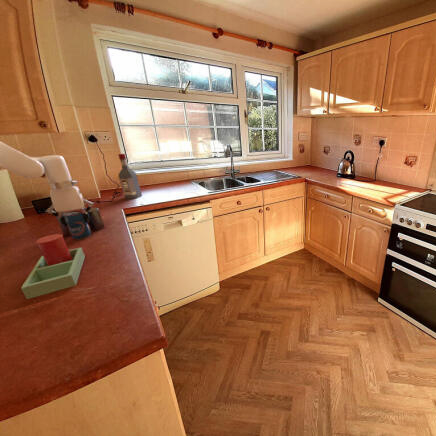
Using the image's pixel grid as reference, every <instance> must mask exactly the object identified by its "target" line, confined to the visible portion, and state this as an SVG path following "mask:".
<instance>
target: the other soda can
mask: <svg viewBox="0 0 436 436" xmlns="http://www.w3.org/2000/svg"><path fill="white" fill-rule="evenodd" d="M35 242H36V244H37V246H38V248H39V251H40V252H41V254H42V256H43V257H44V259H45V261H46V263H47V265H48V266H51V265H55V264H59V263H63V262H67V261H72V260H73V259H72V257H71V254H70V252H69V250H70V249H69V247H68V245H67V243H66V240H65V239H64V235H63V234H62V233H55V234H50V235H45V236H43V237H40V238H38V239H37V240H36V241H35Z"/></svg>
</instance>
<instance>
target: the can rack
mask: <svg viewBox="0 0 436 436" xmlns="http://www.w3.org/2000/svg"><path fill="white" fill-rule="evenodd" d="M68 250H69V252H70V254H71V257H72V259H73V260H72V261H67V262H63V263H59V264H55V265H51V266H48V265H47V263H46V261H45V259H44V257H43V255H41V256H40V258H39V260H38V261H37V263H36V264H35V265H34V267H33V268H32V270H31V272H30V273H29V275H28V277H27V278H26V280H25V281H24V283H22V286H21V287H20V289H21V292H23V294H24V296H25V298H26V300H29V299H33V298H37V297H40V296H44V295H48V294H50V293H53V292H58V291H61V290H65V289H68V288H72V287H76V286H77V283H78V280H79V277H80V274H81V270H82V267H83V264H84V261H85V258H86V255H85V253H84V249H83V247H76V248H72V249H68Z"/></svg>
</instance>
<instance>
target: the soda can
mask: <svg viewBox="0 0 436 436" xmlns="http://www.w3.org/2000/svg"><path fill="white" fill-rule="evenodd" d="M68 212H69V213H66V214H65V221H66V224H67V226H68V229H69V231H70V233H71V236H70V237H71V238H72V239H74V240H75V241H76V240H77V241H80V240H85V239H87V238H89V237H90V236H91V234H92V231H91V230H90V229H89V226H88V223H87V222H86V221H85V218H84V215H83V214H84V213H83V212H82V211H81V210H72V211H68Z"/></svg>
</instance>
